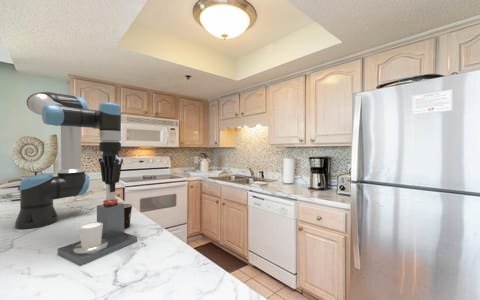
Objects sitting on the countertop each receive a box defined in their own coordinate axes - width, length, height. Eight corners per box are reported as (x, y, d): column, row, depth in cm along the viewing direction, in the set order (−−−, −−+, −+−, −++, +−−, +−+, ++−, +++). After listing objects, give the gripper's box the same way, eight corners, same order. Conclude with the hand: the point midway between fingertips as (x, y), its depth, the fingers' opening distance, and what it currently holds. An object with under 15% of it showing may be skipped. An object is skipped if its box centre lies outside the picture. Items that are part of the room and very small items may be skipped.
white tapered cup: (87, 240, 79) (87, 222, 79) (106, 240, 80) (106, 221, 80) (74, 249, 73) (74, 229, 72) (95, 249, 73) (95, 228, 73)
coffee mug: (123, 231, 96) (123, 209, 96) (106, 230, 98) (106, 207, 98) (140, 222, 107) (140, 202, 107) (125, 221, 109) (125, 201, 109)
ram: (100, 229, 87) (100, 200, 87) (113, 225, 92) (113, 198, 92) (108, 231, 85) (108, 202, 85) (120, 227, 89) (120, 199, 89)
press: (57, 254, 75) (57, 214, 75) (114, 234, 93) (113, 201, 93) (80, 265, 68) (80, 221, 68) (137, 241, 86) (136, 206, 86)
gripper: (91, 141, 87) (91, 199, 88) (110, 141, 81) (111, 203, 82) (110, 142, 94) (110, 196, 94) (129, 141, 88) (129, 199, 88)
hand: (110, 199), depth 88 cm, fingers closed
